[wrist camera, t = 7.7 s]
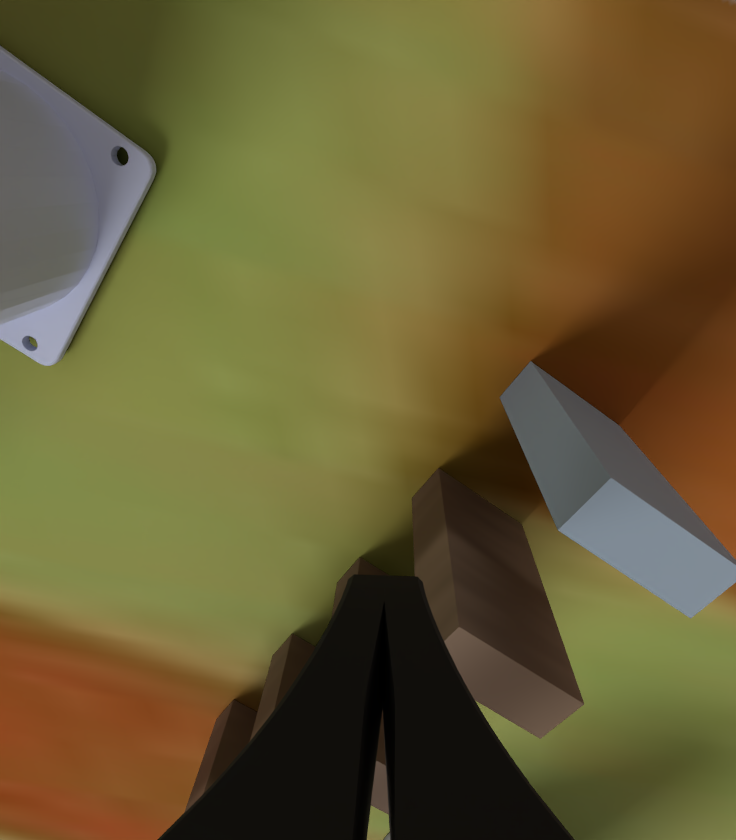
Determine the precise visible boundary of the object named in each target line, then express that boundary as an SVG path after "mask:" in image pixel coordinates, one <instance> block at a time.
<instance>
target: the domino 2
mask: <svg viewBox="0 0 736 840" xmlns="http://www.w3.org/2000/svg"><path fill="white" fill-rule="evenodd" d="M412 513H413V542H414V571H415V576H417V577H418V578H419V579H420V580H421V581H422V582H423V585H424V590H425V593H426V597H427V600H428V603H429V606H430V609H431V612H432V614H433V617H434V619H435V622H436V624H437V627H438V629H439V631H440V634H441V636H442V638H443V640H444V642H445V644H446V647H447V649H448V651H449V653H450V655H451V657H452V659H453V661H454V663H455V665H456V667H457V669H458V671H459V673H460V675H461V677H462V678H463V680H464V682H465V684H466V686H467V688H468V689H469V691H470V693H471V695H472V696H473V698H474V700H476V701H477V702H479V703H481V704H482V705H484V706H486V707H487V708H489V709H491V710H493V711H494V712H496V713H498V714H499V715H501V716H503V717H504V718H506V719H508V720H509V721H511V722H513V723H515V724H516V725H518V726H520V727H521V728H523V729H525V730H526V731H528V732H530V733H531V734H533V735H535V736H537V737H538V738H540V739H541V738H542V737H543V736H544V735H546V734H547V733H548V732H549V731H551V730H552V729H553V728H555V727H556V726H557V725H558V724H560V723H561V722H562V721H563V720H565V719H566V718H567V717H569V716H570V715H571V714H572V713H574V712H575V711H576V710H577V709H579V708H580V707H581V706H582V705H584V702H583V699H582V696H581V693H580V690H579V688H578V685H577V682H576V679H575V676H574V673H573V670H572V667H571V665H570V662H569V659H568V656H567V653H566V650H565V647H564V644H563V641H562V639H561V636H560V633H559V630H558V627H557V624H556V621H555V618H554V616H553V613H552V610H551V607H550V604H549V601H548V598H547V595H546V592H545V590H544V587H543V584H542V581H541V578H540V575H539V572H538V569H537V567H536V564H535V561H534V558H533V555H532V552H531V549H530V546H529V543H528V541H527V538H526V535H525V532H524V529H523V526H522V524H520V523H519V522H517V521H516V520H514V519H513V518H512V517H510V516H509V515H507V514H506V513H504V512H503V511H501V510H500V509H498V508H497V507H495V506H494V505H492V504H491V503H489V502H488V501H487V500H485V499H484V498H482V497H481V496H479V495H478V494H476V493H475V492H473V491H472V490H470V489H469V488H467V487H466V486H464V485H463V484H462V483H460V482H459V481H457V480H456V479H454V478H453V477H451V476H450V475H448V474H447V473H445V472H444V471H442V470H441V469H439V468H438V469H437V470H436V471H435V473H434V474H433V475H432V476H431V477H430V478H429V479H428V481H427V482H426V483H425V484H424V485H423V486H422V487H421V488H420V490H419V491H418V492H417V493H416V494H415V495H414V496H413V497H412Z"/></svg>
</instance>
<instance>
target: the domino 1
mask: <svg viewBox="0 0 736 840" xmlns="http://www.w3.org/2000/svg"><path fill="white" fill-rule="evenodd" d="M256 716H257V712H256V711H254V710H252V709H250V708H248V707H246V706H245V705H243V704H241V703H239V702H237V701H235V700H233V701H232V702H231V703H230V704H229V706H228V707H227V708H226V709H225V710H224V711H223V712H222V713H221V715H220V716H219V717H218V718H217V719H216V722H215V725H214V728H213V731H212V734H211V737H210V740H209V743H208V746H207V748H206V751H205V754H204V757H203V760H202V763H201V766H200V769H199V772H198V775H197V778H196V781H195V783H194V786H193V789H192V792H191V795H190V798H189V801H188V804H187V807H186V810H185V812H186V811H187V810H188V809H189V808H190V807H191V806H192V805H193V804H194V803H195V802H196V801H197V800H198V799H199V798H200V797H201V796H202V795H203V794H204V793H205V792H206V791H207V789H208V788H209V787H210V786H211V785H212V784H213V783H214V782H215V781H216V780H217V779H218V777H219V776H220V775H221V774H222V773H223V772H224V771H225V770H226V768H227V767H228V766H229V765H230V764H231V763H232V761H233V760H234V759H235V758H236V757H237V756H238V754H239V753H240V752H241V751H242V750H243V749H244V747H245V746H246V745H247V744H248V743H249V742H250V738H251V735H252V731H253V727H254V723H255V720H256Z"/></svg>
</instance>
